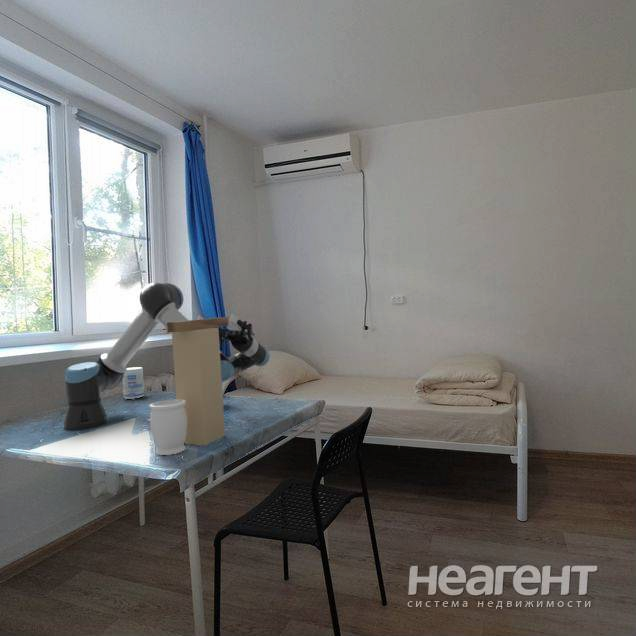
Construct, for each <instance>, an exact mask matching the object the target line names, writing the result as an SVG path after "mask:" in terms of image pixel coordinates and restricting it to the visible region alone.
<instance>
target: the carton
mask: <svg viewBox="0 0 636 636" xmlns="http://www.w3.org/2000/svg"><path fill="white" fill-rule="evenodd" d="M218 328H219V327H218ZM218 328H206V329H198V330H191V331H183V332H171V341H172V343H171V344H172V356H173V371H174V385H175V386H174V387H175V399H181V400H185V402H186V404H185V405H184V408H185V410H186V415H187V430H186V439H185V442H184V443H185V444H184V445H190V444H199V445H198V446H203V445H206V444H208V443H210V442H212V443H213V441H214V442H215V440H216V441H217V440H220V439H221V438H224V437H226V428H225V413H224V412H225V411H224V410H225V409H224V400H223V399H224V398H223V395H224V394H223V383H222V382H223V381H222V378H221V362H220V351H221V350H220V346H221V345H220V339H219V330H218ZM210 444H211V443H210ZM208 445H209V444H208ZM206 446H207V445H206Z"/></svg>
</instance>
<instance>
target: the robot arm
mask: <svg viewBox="0 0 636 636" xmlns="http://www.w3.org/2000/svg"><path fill="white" fill-rule="evenodd" d="M184 300H185V299H184V293H183V292H182V290H181V288H179V287H178V286H177V285H175V284H173V283H170V282H169V283H168V282H167V283H161V282H152V283H151V282H150V283H149V284H146V285H145V286H144V287H143V288H142V289H141V291H140V294H139V302H140V306H141V311H139V313H138V314H137V316H136V317H135V318H134V319H133V321H132V322H131V323H130V324H129V325H128V326H127V328H126V330H125V331H123V333H122V335H120V337H119V339H117V341H116V342H115V343H114V345H113V346H112V348H110V349H109V351H108V352H107V353H106V352H105V353H102V354H101V355H100V357H99V358H97V360H96V362H94V361H87V362H81V363H76V364H73V365H71V366H68V367H67V368H66V370H65V378H64V380H65V386H66V387H65V388H66V399H67V400H66V401H67V409H66V413H65V418H64V421H63V428H64V429H65V430H71V431H74V430H76V431H77V430H79V431H80V430H85V429H92V428H97V427H100V426H102V425H105V424H107V423H108V421H109V420H108V415H107V414H106V411H105V408H104V406H103V403H102V396H101V395H102V393H103V392H106V391H110V390H113V389H114V388H116V387H118V386H119V385H120V384H121V383H123V378H124V373H125V372H126V370H127V368H128V367H127V364H128V363H129V362H130V360H132V358H133V357H134V356H135V354H136V353H137V352H138V350H139V349H140V348H141V347H142V346H143V344H144V343H145V342H146V341H147V339H148V338H149V337H150V335H151V334H152V333H153V332H154V331H155V330H156V328H157V326H158V325H159V324H160V323H161V324H162V325H163V326H164V327H165V328H167V322H178V321H188V320H189V319H188V318H186V316H185V315H183V313H182V312H181V311H179V310H180V309H181V308H182V307H183V305H184ZM198 319H205V318H204V317H203V316H202V315H200V314H199V315H198V316H197V319H196V320H198ZM229 322H230V323H232V325H234V326H235V327H236V329H238V330H234V329H232V330H231V329H229V328H221V327H214V328H218V330H219V341H222V342H224V341H225V340H228V341H229V342H230V344H231V346H232V347H233V348H234V349H235V350H236V351H238V352H236V353H235V354H233V355H231V356H228V357H227V356H226V354H224V353H223V352H222V350H220V362H221V378H222V382H225V381H229V380H231V379H232V378H233V377H236V376H237V375H239V374H241V373H242V372H244V371H245V370H247V369H250V368H251V367H254V366H256V367H263V366H265V365H267V364H268V362H269V361H270V358H271V357H270V353H269V351H268V350H267V348H266V347H265V346H264V345H262V344H261V343H260V342H258V341H257V340H256V339H255V333H254V332H253V324H252V323H249V322H248V321H246V320H241V319H240V318H238V317H237V316H236V315H235V314H234V313H231V314H230V318H229Z"/></svg>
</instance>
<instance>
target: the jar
mask: <svg viewBox="0 0 636 636" xmlns="http://www.w3.org/2000/svg"><path fill="white" fill-rule="evenodd" d="M185 404H186V402H185V400H181V399H176V398H175V399H174V398H173V399H164V400H159V401H155V402H151V403H150V404H148V407H149V410H151V412H150V415H149V416H150V418H149V420H150V421H149V422H150V423H149V425H150V432H151V434H152V440H153V443H154V445H155V447H156V448H157V449H156V451H155V453H156V454H157V456H162V455H167V456H173V455H172V454H174V455H177V453H178V454H180V452H181V453H183V452H184V451H186V446H185V444H184V442H185V439H186V430H187V415H186V410H185V408H184V405H185ZM182 451H183V452H182Z"/></svg>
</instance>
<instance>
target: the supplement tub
mask: <svg viewBox="0 0 636 636" xmlns="http://www.w3.org/2000/svg"><path fill="white" fill-rule="evenodd" d="M126 368H127V370H126V372H125V373H124V378H123V380H122V390H123V391H122V394H123V398H125V399H124V400H127V399H132V400H135V399H134V398H140V397H143V396H144V397H145V382H144V372H143V371H144V369H143V367H141V366H139V367H138V366H133V367H126ZM144 397H143V398H144ZM140 399H141V398H140Z"/></svg>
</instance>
